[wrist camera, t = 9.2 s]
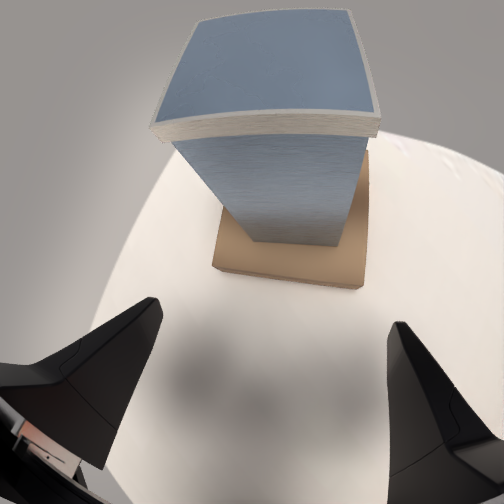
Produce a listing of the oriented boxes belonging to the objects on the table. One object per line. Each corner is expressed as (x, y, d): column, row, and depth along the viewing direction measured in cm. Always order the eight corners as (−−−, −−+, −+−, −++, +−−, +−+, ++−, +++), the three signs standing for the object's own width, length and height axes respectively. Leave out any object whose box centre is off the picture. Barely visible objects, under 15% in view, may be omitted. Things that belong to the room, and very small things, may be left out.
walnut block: (355, 290, 19) (363, 285, 16) (224, 272, 21) (211, 265, 19) (362, 169, 21) (368, 150, 18) (246, 159, 23) (238, 139, 20)
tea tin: (340, 248, 17) (381, 118, 5) (251, 243, 18) (148, 127, 6) (340, 168, 18) (350, 9, 6) (259, 166, 20) (197, 21, 8)
